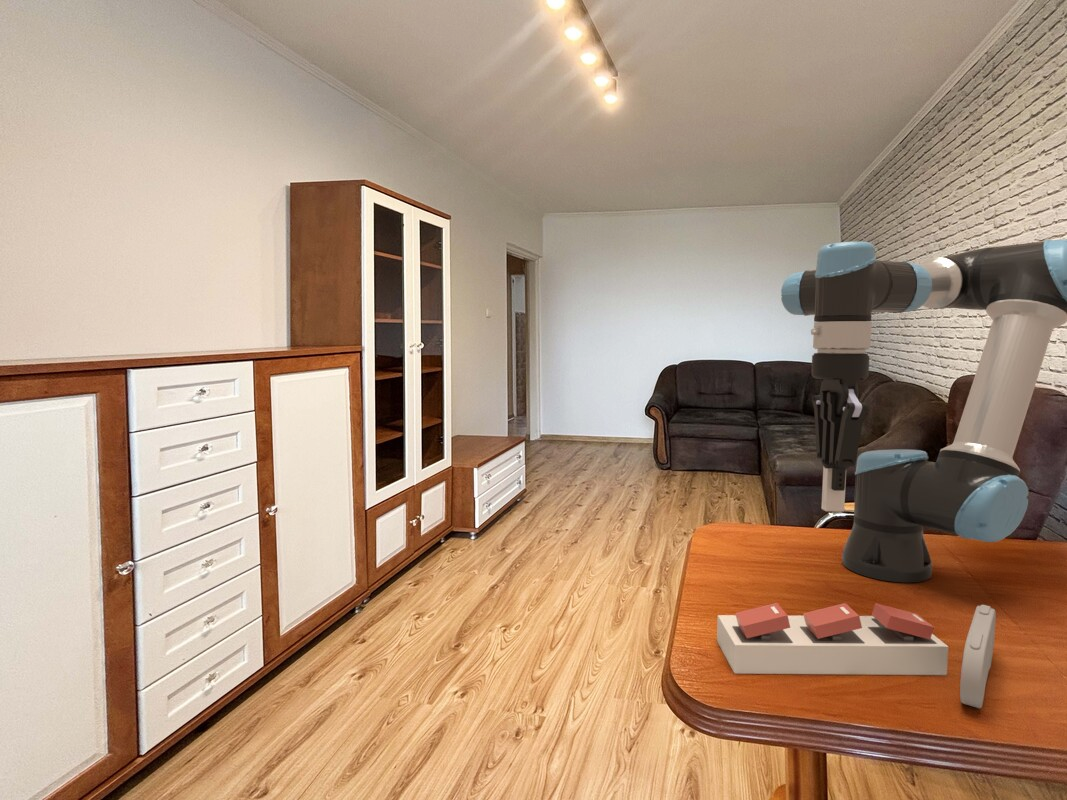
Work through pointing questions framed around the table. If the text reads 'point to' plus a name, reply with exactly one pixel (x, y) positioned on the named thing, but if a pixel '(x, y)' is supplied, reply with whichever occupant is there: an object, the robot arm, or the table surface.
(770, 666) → the rocker switch panel
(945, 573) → the table surface
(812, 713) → the table surface
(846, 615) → the block
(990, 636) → the grey rounded slab
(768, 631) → the rocker
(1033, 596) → the table surface
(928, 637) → the block
